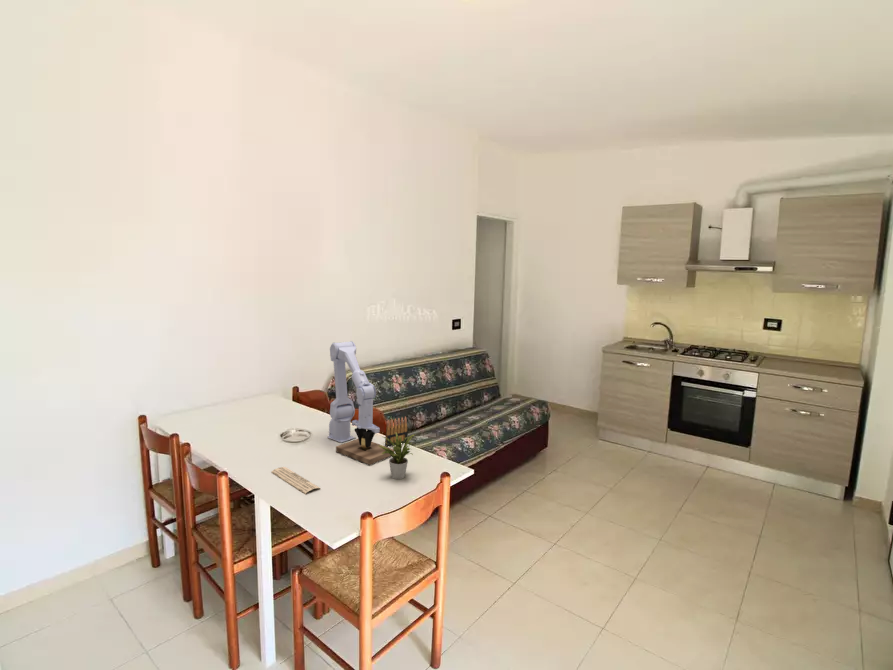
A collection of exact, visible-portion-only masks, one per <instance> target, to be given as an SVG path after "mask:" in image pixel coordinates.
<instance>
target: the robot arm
mask: <svg viewBox="0 0 893 670" xmlns="http://www.w3.org/2000/svg"><path fill="white" fill-rule="evenodd" d="M356 354H357V346H356V343H355V342H354V341H353V340H350V341H343V342H332V343H331V344H330V347H329V356H330V361H331V362H333V373H334V374H333V375H334V386H335V399H334V400H333V401H331V403H330V409H329V415H330V418H331V419H330V420H329V423H328V436H327V438H328V439H331V440H333V441H336V442H338V443H342V444H343V443H346V442H347V441H348V442H349V441H352V440H355V436H352V435H351V426H352V427H354V426H355V428H354V432H355V434H356V436H357V439H359V443H360V445H361V437H363V436H365V445H366V447H370V446H371V442H373V439H374V437H375V435H376V434H379V433H380V432H381V431H380V430H381V429H380V427H379V426H377V425H376V424H374V423H373V421H374V420H373V419H374V418H373V416H374V415H373V413H374V411H373V410H374V409H373V408H374V405H373V404H374V399H375V398H376V396H377V389H376V387H375V385H374V384H373V383H371V382H369V379H368V377H367V375H366V372H365V371H364V370H362V369H361V368H360V364H359V362H358V359H357V356H356ZM346 364H347V366H348V368H349V369H350V371H351V373H352V375H351V380H352V381H353V384H354V386H355V389H356V391H355V394H356V399H357V404H358V419H354V420H353V417H354V416H355V413H356V408H355V405H354V401H353V400H352V399H350V398H349V397H348V396H349V395H348V385H347V383H348V382H347V369H346ZM351 420H352V421H351Z"/></svg>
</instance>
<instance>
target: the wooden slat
mask: <svg viewBox="0 0 893 670" xmlns="http://www.w3.org/2000/svg"><path fill="white" fill-rule="evenodd" d="M270 472H271V474H273V475H275V476H276V477H277V478H278V479H280V480H282V481H283V482H285V483H287V484H288V485H290V486H291V487H293V488H294V489H295V490H297V491H299V492H301V493H302V494H303V495H306V494H307V493H308V492H310V491H312V490H314V489H316V490H322V489H321V487H319V486H317V485H316V484H315V483H313V482H312V481H310V480H307V478H304V477H303V476H301V475H299V474H298V473H296V472H294V471H293V470H291V469H290V468H288V467H286V466H281V467H277V468H275V469H273V470H272V471H270Z"/></svg>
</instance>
